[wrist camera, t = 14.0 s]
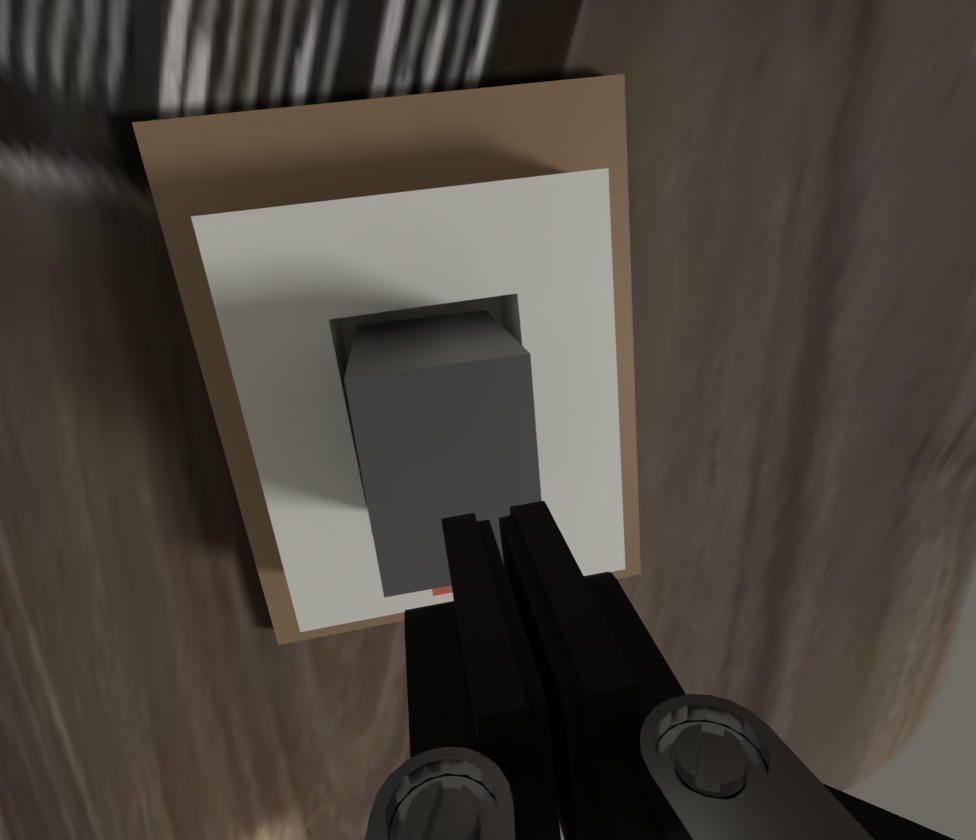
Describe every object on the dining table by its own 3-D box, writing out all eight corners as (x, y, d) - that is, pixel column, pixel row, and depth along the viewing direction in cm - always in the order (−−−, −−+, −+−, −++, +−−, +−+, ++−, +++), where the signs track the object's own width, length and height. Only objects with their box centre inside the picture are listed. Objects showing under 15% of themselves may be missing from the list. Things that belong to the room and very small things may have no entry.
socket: (143, 126, 20) (65, 98, 15) (614, 80, 22) (680, 41, 17) (281, 629, 27) (259, 723, 22) (632, 562, 28) (683, 634, 24)
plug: (358, 320, 22) (343, 378, 14) (480, 304, 22) (530, 353, 15) (384, 473, 24) (384, 597, 16) (495, 456, 24) (546, 568, 17)
